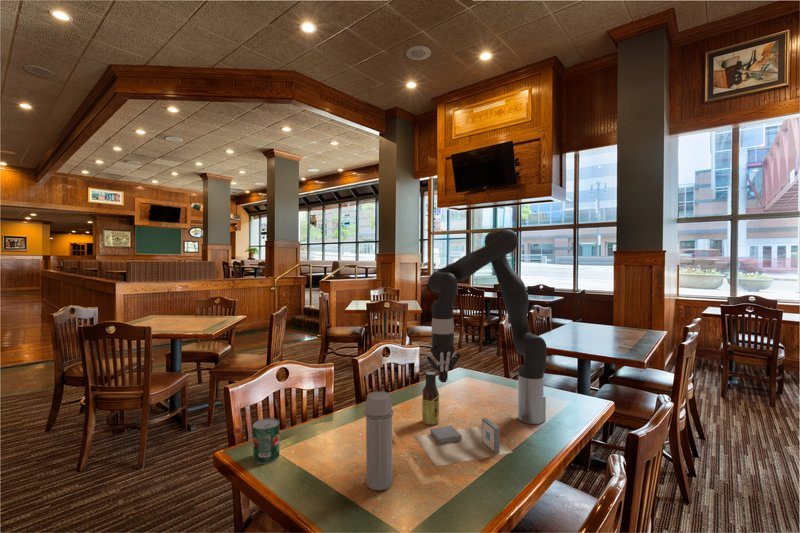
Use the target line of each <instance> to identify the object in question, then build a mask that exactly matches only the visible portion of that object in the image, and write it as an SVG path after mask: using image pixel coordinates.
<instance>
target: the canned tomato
mask: <svg viewBox="0 0 800 533" xmlns="http://www.w3.org/2000/svg"><path fill="white" fill-rule="evenodd" d="M252 435H253V437H252V441H253V443H252V444H253V445H252V446H253V447H252V449H253V450H252V451H253V458H252V460H253V463H255V464H258V465H267V464H271V463H273V462H275V461H277V460H278V459H279V458H280V456H281V455H280V454H281V453H280V450H281V449H280V420H279V419H277V418H273V417H271V418H270V417H267V418H261V419H259V420H256V421H255V422H254V423H253V424H252Z"/></svg>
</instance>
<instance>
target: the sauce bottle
mask: <svg viewBox="0 0 800 533" xmlns="http://www.w3.org/2000/svg"><path fill="white" fill-rule="evenodd" d="M424 374H425V375H424V376H425V386H424V387H423V389H422V402H421V404H422V406H421V408H422V411H421V412H422V423H423V425H425V426H430V427H432V426H437V425H439V423H440V393H439V390H438V388H437V383H436V381H437V380H436V378H437V373H436V372H435V371H427V372H425V373H424Z"/></svg>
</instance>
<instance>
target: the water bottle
mask: <svg viewBox="0 0 800 533" xmlns="http://www.w3.org/2000/svg"><path fill="white" fill-rule="evenodd" d="M391 398H392V397H391V394H390V393H389V392H386V391H380V390H379V391H372V392H370V393H369V392H368V394H366V402H365V410H364V416H365V417H366V418H365V422H366V423H365V425H366V426H365V427H366V428H365V434H366V435H365V437H366V438H365V439H366V443H365V444H366V446H365V447H366V449H365V450H366V452H365V453H366V456H365V457H366V462H365V463H366V465H365V466H366V485H367V486H368V488H369V489H371V490H373V491H377V492H381V491H386V490H387V489H389V488H390V487H391V485H392V484H393V416H394V410H393V408H392V407H393V406H392V400H391Z"/></svg>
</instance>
